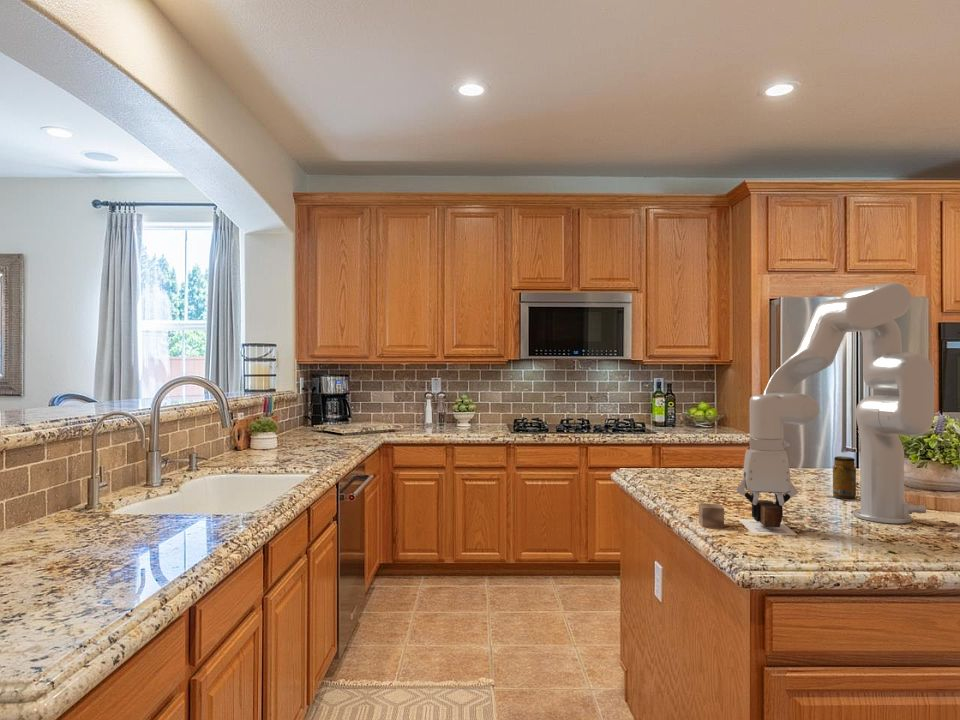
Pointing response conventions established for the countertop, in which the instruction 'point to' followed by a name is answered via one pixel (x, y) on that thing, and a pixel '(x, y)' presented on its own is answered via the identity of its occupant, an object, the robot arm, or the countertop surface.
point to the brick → (770, 514)
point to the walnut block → (711, 515)
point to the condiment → (844, 479)
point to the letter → (766, 528)
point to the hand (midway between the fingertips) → (767, 519)
